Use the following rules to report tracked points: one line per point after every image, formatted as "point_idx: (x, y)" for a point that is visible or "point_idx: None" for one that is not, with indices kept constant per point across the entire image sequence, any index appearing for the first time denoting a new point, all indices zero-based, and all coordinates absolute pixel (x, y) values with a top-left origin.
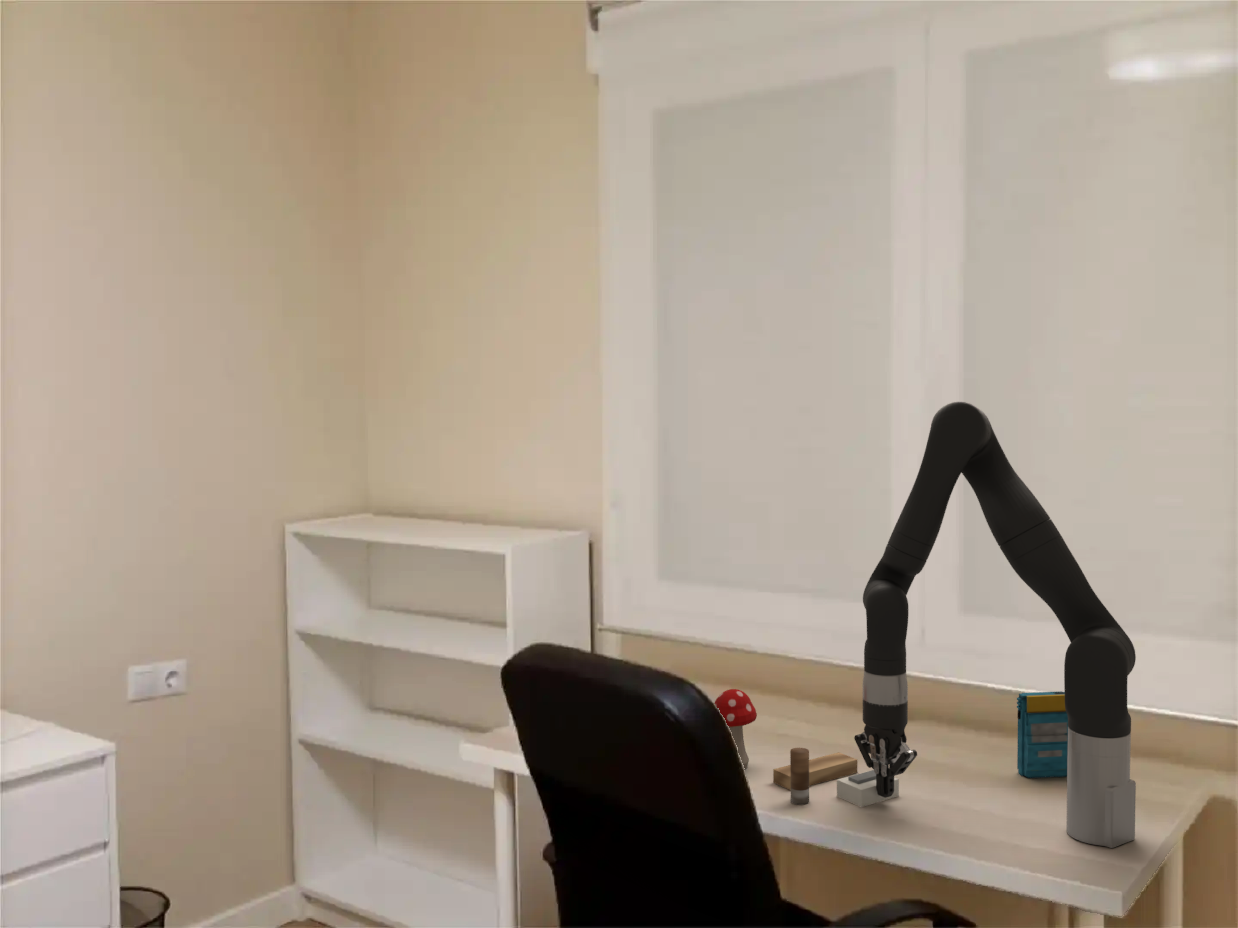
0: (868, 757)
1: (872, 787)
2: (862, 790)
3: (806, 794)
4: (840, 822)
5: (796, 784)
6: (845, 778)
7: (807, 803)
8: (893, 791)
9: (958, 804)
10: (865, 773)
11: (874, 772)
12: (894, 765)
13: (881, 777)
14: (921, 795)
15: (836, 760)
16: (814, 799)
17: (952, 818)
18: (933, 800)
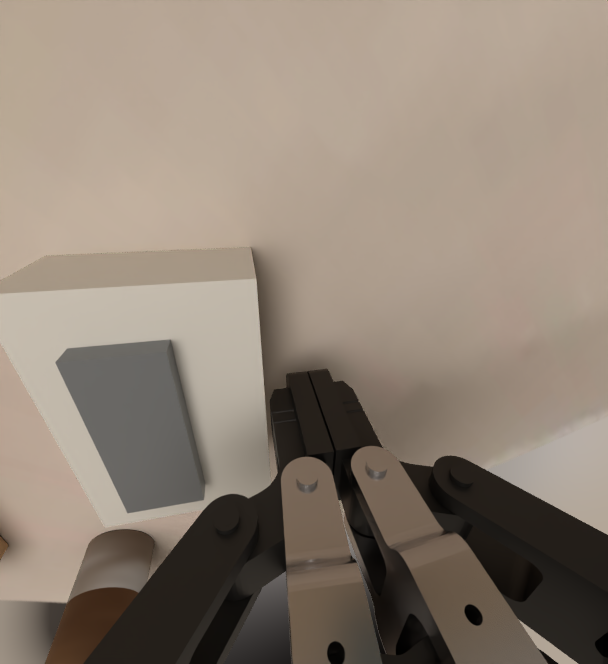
0: (233, 643)
1: (267, 448)
2: None
3: (146, 575)
4: None
5: None
6: (100, 497)
7: (151, 538)
8: (350, 390)
9: (537, 48)
10: (109, 432)
11: (114, 382)
12: (501, 594)
13: (337, 494)
14: (316, 125)
15: None
16: None
17: (559, 238)
18: (406, 130)
